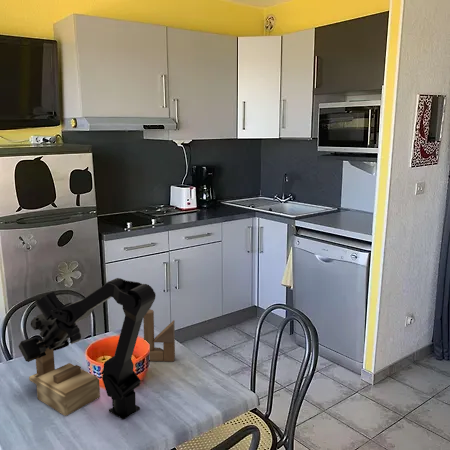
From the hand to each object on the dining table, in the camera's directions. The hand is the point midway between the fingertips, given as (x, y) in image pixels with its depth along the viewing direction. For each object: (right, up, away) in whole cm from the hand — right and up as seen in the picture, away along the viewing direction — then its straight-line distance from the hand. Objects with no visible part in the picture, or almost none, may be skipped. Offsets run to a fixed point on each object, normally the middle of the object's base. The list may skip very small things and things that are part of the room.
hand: (42, 353), depth 149 cm
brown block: (+1, -7, 0) cm, 7 cm away
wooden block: (+35, -6, +15) cm, 39 cm away
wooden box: (+7, -10, -6) cm, 14 cm away
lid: (+12, -5, -11) cm, 17 cm away
